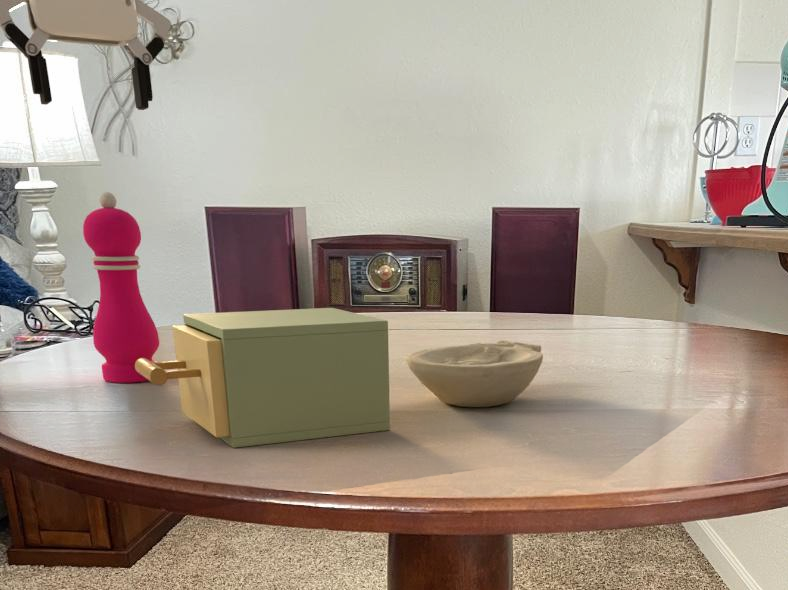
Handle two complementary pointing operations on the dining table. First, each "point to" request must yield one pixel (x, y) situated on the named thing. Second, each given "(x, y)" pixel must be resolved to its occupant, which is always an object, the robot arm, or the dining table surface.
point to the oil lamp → (477, 372)
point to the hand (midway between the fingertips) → (95, 106)
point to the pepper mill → (119, 293)
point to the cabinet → (301, 373)
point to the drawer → (195, 377)
